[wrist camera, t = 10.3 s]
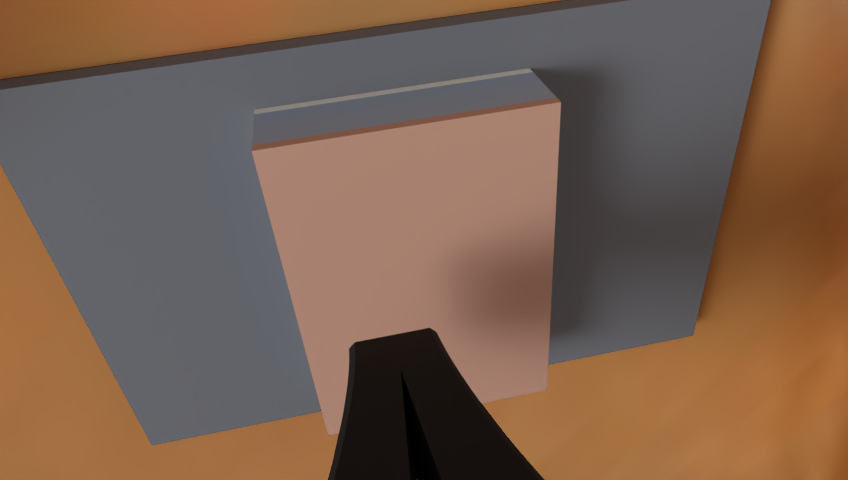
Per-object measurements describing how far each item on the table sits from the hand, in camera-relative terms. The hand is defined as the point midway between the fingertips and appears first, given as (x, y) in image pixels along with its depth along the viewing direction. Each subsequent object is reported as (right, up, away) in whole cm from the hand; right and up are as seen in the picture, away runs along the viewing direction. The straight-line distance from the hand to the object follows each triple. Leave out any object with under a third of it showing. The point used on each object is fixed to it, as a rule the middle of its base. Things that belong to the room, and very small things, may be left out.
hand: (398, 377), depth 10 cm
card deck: (-2, +1, +2) cm, 3 cm away
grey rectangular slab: (0, +2, +3) cm, 4 cm away
